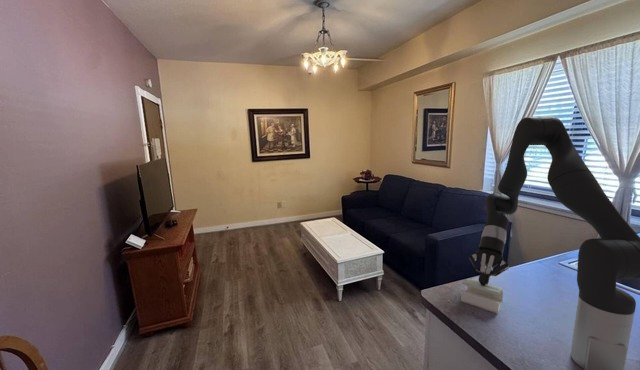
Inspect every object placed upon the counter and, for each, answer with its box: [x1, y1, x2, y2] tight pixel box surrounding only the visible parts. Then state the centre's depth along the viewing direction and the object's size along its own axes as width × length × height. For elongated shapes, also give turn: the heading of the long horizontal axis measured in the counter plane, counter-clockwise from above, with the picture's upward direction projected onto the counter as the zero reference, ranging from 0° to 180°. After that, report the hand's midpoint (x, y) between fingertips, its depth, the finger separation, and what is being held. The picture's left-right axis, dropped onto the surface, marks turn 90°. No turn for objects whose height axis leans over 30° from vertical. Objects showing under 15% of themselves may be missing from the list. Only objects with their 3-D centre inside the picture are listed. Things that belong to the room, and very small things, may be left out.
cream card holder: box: [460, 285, 504, 315], centre depth 92 cm, size 11×9×4 cm
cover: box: [462, 278, 504, 295], centre depth 92 cm, size 11×9×1 cm
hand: (482, 284), depth 91 cm, fingers closed
